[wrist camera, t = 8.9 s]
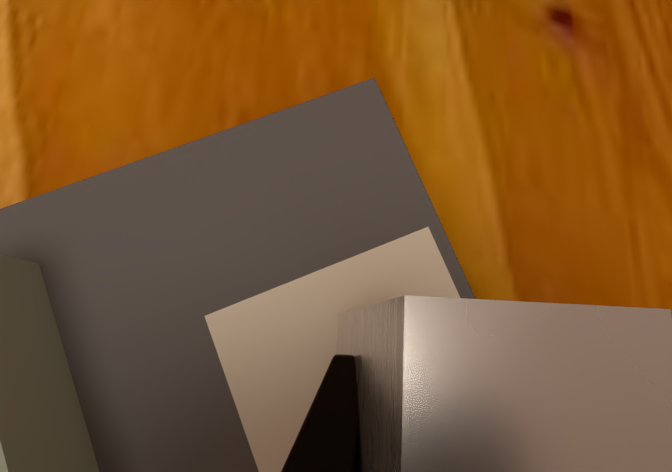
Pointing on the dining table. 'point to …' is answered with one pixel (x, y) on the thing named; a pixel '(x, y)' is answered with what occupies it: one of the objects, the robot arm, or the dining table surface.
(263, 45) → the dining table surface
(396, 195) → the mat
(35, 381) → the storage box
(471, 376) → the rectangular steel block
